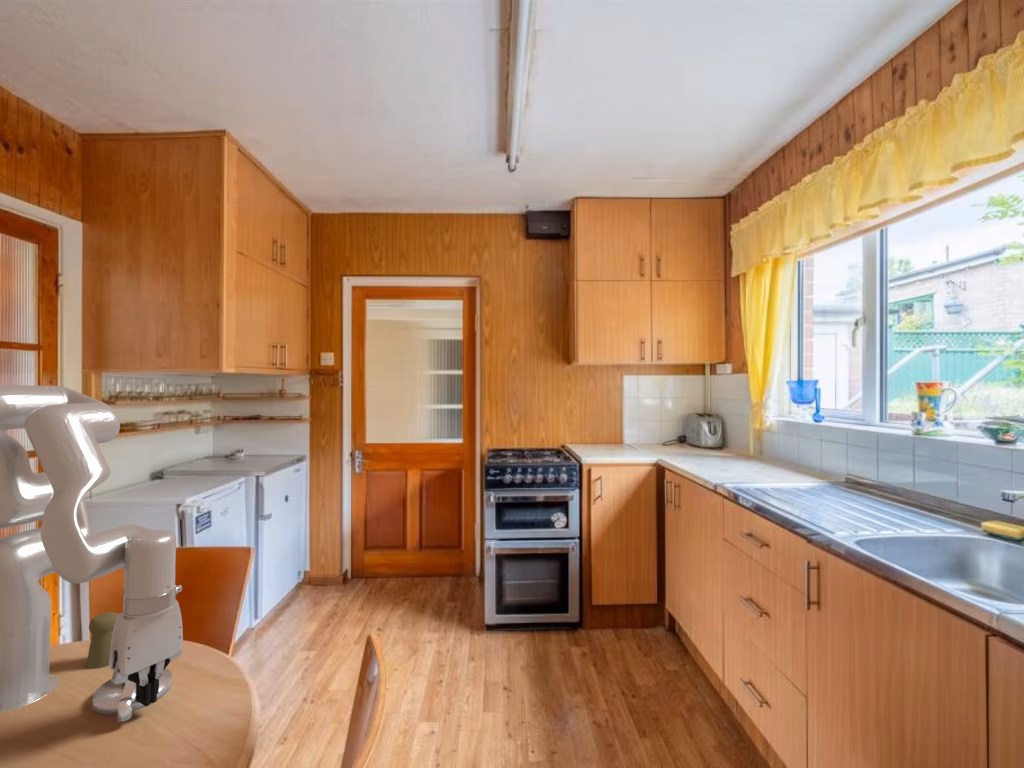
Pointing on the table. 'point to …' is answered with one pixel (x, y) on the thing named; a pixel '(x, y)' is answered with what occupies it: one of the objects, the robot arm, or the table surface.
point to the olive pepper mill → (101, 640)
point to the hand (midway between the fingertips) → (147, 701)
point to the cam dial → (124, 697)
